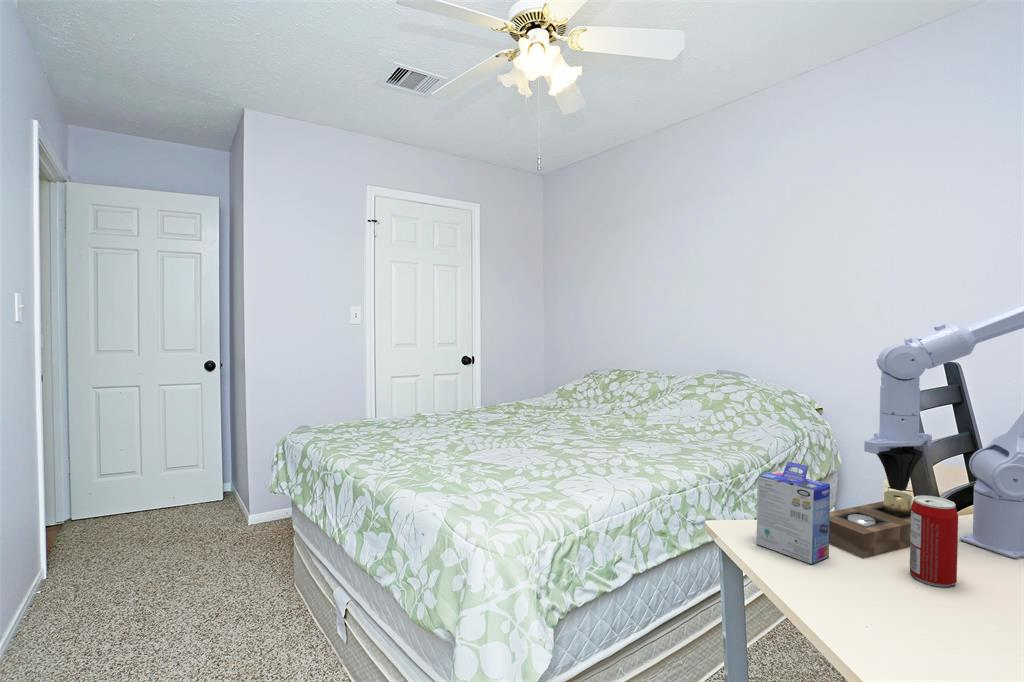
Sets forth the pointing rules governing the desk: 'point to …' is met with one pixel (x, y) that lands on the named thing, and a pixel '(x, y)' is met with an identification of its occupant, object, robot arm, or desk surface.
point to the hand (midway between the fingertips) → (897, 488)
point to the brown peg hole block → (869, 531)
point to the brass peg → (897, 504)
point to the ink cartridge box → (793, 514)
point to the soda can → (934, 540)
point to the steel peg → (861, 519)
